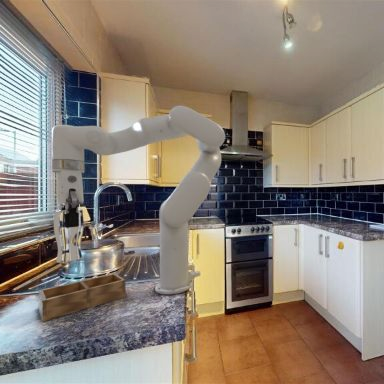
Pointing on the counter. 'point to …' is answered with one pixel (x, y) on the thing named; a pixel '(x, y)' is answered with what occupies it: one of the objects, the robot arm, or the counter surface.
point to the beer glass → (68, 238)
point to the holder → (80, 295)
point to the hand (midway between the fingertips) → (69, 225)
